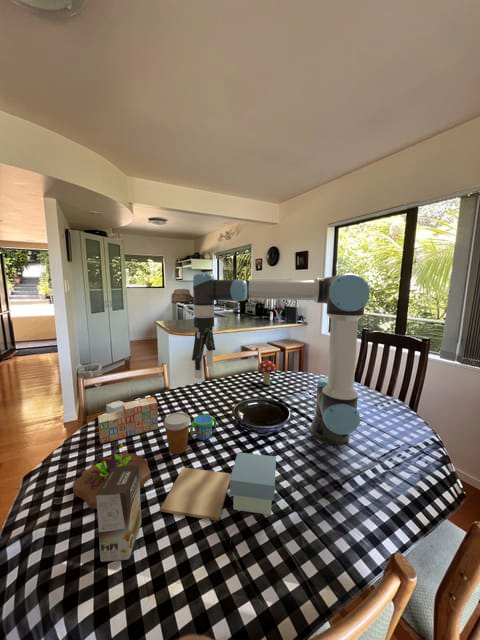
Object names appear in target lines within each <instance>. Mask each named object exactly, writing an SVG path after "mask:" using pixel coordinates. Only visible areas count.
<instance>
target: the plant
mask: <svg viewBox="0 0 480 640" xmlns="http://www.w3.org/2000/svg"><path fill="white" fill-rule="evenodd" d="M123 447H124V445H123V443H117V444H116V445H114V447H113V448H112V452H111V456H109V457H100V458H98V459H96V460H95V461H94V462H92V463H91V466H90V467H89V468H87V469H85V470H83V471H82V473H81V476H80V477H79V478H76V479H74V480H73V481H74V482H72V483H73V484H72V493H73V495H75V496H76V497H78V498H80V499H82V500H83V501H84V502H85V503H86V504H87V505H88V508H90V509H91V510H92V509H93V510H97V498H96V494H97V492H98V491H99V489H100V487H101V486H102V484H103V483H104V481H105V479H106V478H107V476H108V475H109V473H110V471H111V470H112V468H113V467H121V466H128V465H139V482H140V489H141V488H142V487H143V486H144V485H145V484H146V483H147V482H148V481H149V480H150V478H151V470H150V468H149V463H148V461H147V460H146V459H145V458H143V457H142V456H140V455H138V454H131V453H129V452H122V453H118V454H117V453H115V452H116V449H122V448H123ZM98 462H99V463H98Z"/></svg>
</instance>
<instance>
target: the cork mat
mask: <svg viewBox="0 0 480 640" xmlns="http://www.w3.org/2000/svg"><path fill="white" fill-rule="evenodd" d="M231 474H232V473H229V472H221V471H216V470H215V471H213V470H208V469H207V470H205V469H199V468H198V469H197V468H190V467H182V469H181V471H180V472H179V474H178V476H177V478H176V479H175V481H174V483H173V485H172V487H171V489H170V491H169V493H168V494H167V495H166V498H165V500H164V501H163V503H162V504H161V506H160V509H159V510H160V512H163V513H169V514H173V515H181V516H188V517H193V518H198V519H205V520H206V519H207V520H212V521H220V519H221V514H222V511H223V507H224V503H225V500H226V496H227V492H228V489H229V487H230V478H231Z"/></svg>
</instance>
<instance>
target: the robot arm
mask: <svg viewBox="0 0 480 640" xmlns="http://www.w3.org/2000/svg"><path fill="white" fill-rule="evenodd" d="M192 279H193V283H192V285H193V286H192V291H193V292H192V295H193V297H192V299H193V307H192V310H193V316H194V317H193V327H194V328H197V329H198V331H195V333H194V341H193V349H192V354H191V355H192V356H191V361H193V362H194V378H195V379H204V371H203V370H204V369H203V368H204V367H203V365H204V364H203V363H204V362H203V361H204V360H203V354H204V350H205V347H206V351H205V357H206V358H205V359H206V360H205V361H206V364H205V366H206V367H207V368H208V367H209V368H210V367H211V368H213V367H214V351H216V347H215V346H216V345H215V338H214V333H213V332H214V331H213V327H215V317H214V316H215V301H216V302H218V301H220V302H221V301H225V302H230V301H231V302H243V301H244V302H245V301H246V300H276V301H277V300H279V301H282V300H284V301H285V300H288V301H313V302H315V303H316V304H326V315H327V316H328V317H329V318H330V331H329V332H330V333H329V344H328V345H329V350H328V365H327V366H328V367H327V377H326V378H323V377H322V378H320V379H318V380H317V384H316V402H315V415H314V417H313V419H312V422H311V424H310V433H311V435H312V436H313V438H315V439H317V440H319V442H322V443H326V444H329V445H341V444H346V443H347V442H348V441H350V434H352V433H353V432H354V431H356V430H357V429H358V428H359V426H360V424H361V415H360V413H359V411H358V402H359V401H358V400H359V394H358V392H357V391H356V390H355V388H354V386H355V373H356V372H355V369H356V359H357V343H358V331H359V330H358V328H359V327H358V326H359V320H360V319H362V318H363V317H364V315H365V305H366V304H367V303H368V301H369V299H370V292H371V291H370V290H371V289H370V287H369V284H368V282H367V280H365V279H364V278H363V277H362V276H360V275H358V274H355V273H349V272H348V273H347V272H345V273H341V274H338V275H333V276H328V277H316V278H315V279H314V280H301V279H300V280H297V279H296V280H287V279H286V280H284V279H283V280H273V279H272V280H270V279H269V280H267V279H266V280H265V279H264V280H262V279H261V280H257V279H256V280H254V279H252V280H247V279H246V280H245V279H215V275H214V274H211V273H196V274H194V275H193V278H192Z"/></svg>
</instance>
